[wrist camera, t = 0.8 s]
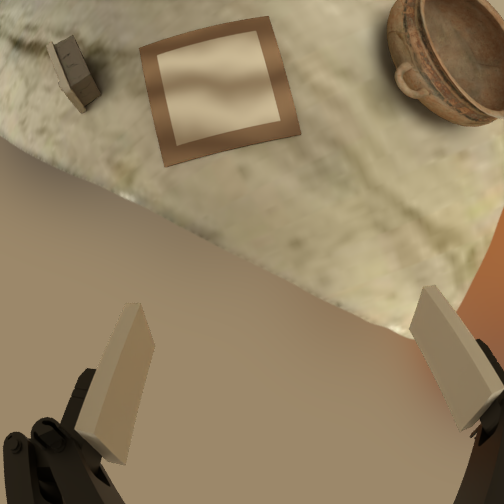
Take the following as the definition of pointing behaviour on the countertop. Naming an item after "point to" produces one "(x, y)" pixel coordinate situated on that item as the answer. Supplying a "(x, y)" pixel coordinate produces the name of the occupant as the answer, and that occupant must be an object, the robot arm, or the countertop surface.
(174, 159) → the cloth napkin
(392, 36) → the cooking pot
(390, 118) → the countertop surface
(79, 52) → the electrical switch
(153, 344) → the robot arm
